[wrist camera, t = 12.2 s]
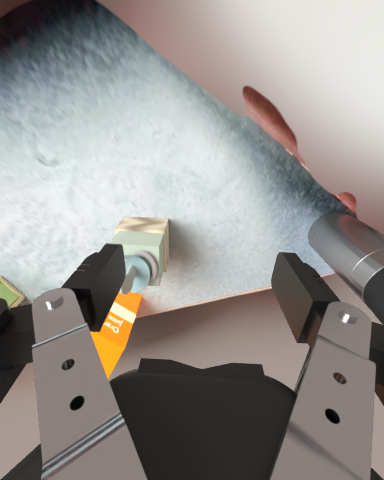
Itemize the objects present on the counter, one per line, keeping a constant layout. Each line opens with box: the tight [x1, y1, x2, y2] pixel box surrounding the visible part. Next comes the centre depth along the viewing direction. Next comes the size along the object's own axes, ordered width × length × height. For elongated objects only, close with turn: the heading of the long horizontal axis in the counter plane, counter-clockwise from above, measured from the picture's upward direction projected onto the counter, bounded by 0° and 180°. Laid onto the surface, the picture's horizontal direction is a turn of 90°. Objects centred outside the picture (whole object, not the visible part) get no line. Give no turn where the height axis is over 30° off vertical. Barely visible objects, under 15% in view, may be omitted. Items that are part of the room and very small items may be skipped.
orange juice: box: [91, 292, 142, 378], centre depth 46 cm, size 8×9×20 cm
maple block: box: [115, 217, 169, 272], centre depth 45 cm, size 9×9×6 cm
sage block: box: [109, 230, 163, 286], centre depth 40 cm, size 8×8×5 cm
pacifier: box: [119, 251, 157, 295], centre depth 35 cm, size 7×6×6 cm
